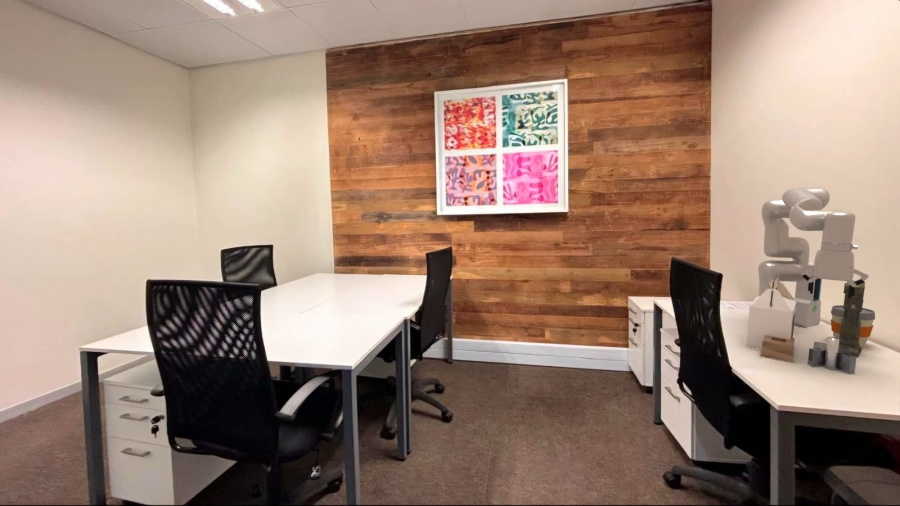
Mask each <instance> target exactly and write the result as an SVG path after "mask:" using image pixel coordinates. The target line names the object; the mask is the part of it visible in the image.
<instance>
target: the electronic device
mask: <svg viewBox="0 0 900 506" xmlns="http://www.w3.org/2000/svg"><path fill="white" fill-rule="evenodd" d="M813 265H814V262H810V261H809V265H808V267H810V266H813ZM807 276H809V277H812V276H813V270H810V271H808V275H807ZM822 281H823V279H819V278H818V279H816V280H815V281H813V282H814V287H813V294H810V291H808V283H809V282H808V281H807V280H804V281H801V282H795V291H794V292H795V293H794V299H795V301H796V312H795V323H794V326H798V327H802V328H811V327H816V326H819V324H820V323H821V307H822V305H821V304H822V301H821V293H822V283H823V282H822Z"/></svg>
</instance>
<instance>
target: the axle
mask: <svg viewBox="0 0 900 506" xmlns="http://www.w3.org/2000/svg"><path fill="white" fill-rule="evenodd" d="M826 338H827V339H826V344H827V346H826V355H825V364H824V366H823V367H825V369H826V368H827V370H830V371H832V370H833V371H836V370H837V369H836V365H837V356H838V347H839V339H838V338H835V337H833V336H827V337H826Z"/></svg>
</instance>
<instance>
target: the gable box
mask: <svg viewBox="0 0 900 506" xmlns="http://www.w3.org/2000/svg"><path fill="white" fill-rule="evenodd" d="M795 312H796V301H795V297H793V296H792V294H791V293H790V291H789V290H788V289H787V287H786V286H785V285H784V284H783V283H782V282H781V281H780V282H778V276H776V278H775V279H774V280H773V278H772V279H771V280H770V281H769V283H768V287H767V288H766V289H765V290H764V291H763V292H762V293H761V294H760V295H759V294H758V296H756V297H755V298H754V300H753V301H752V303H750V305H749V311H748V322H747V323H748V324H747V336H746V347H747V346H748V348H752V347H753V348H754V349H757V348H758V350H762V341H763V338H764V335H767V336H772V337H778V338H784V339H791V338H794V332H795V331H794V330H795V325H794V323H795Z"/></svg>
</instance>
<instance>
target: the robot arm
mask: <svg viewBox="0 0 900 506" xmlns="http://www.w3.org/2000/svg"><path fill="white" fill-rule="evenodd" d="M830 200H831V195H830V193H829V191H828V190H827V189H826V188H824V187H820V186H819V187H793V188H790V189H788V190H786V191H784V192H783V194H782V196H781V198H778V199H771V200H770V199H769V200H767V201H765V202H764V203H763V204H762V207H761V217H762V221H763V225H764V236H763V237H764V238H763V253H764V255H765V256H766V257H768V258H769V257H770V258H778V259H779V258H780V259H782V258H784V259H792V260H778V259H777V260H776V259H775V260H774V259H771V260H764V261H762V262H760V263H759V264H758V267H757V269H758V270H757V272H758V280H759V282H758V283H759V286H758V296H759V295H760V294H761V293H762V292H763V291H764V290H765V289H766V288H767V287H768V283H769V281H770V280H771V279H772V278H773V280H774V279H775V278H776V276H778V282H780V283H781V282H794V283H796V282H801V281H804V280H807V281H808V282H809V283H808V291H810V294H813V287H814V282H813V281H815V280H816V279H818V278H819V279H822V280H831V281H838V282H840V281H841V282H846V283H847V282H848V283H849V284H850V286H849V287H848V295H847V297H848V298H851V296H854V292H855V287H856V286H858V285H860V284H862V283H863V282H865V281H867V280H868V278H869V274H867V273H866V272H865V273H864V272H862V271H860V270H858V269H856V268H855V254H854V251H852V250H858V246H859V245H855V244H853V238H854V229H855V223H856V214H854V213H853V212H849V211H847V212H846V211H842V210H832V209H831V210H825V209H824V208H825V207H827V205H828V204H829V202H830ZM784 219H789V222H790V224H791V225H792V226H794V227H795V228H796V229H797V230H799V231H804V232H822V235H821V244H820V249H818V250H817V251H816V254H815V257H814V260H813V261H814V262H813V263H814V265H813V266H810V267H808V265H809V262H810V244H809V241H807V240H808V239H806V238H803V237H800V236H799V237H798V236H797V237H796V236H793V237H792V236H790V235H789V234H790V233H789V231H790V226H789V225H788V223H787V222H786V221H785V220H784ZM810 270H813V276H812V277H809V276H807V275H808V271H810ZM854 275H857V276H860V278H858V279H857V280H853V278H854ZM854 281H855V282H854Z"/></svg>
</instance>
